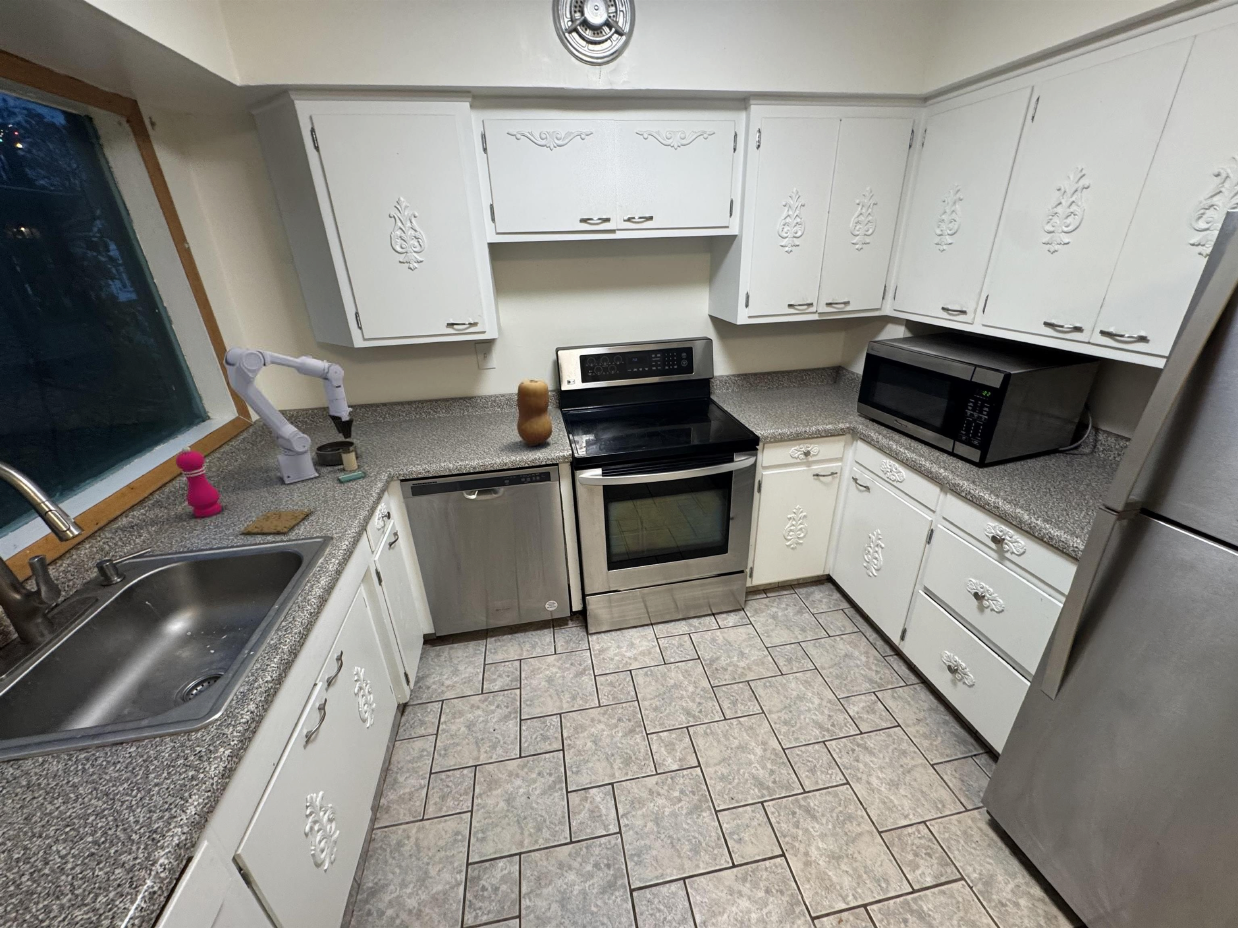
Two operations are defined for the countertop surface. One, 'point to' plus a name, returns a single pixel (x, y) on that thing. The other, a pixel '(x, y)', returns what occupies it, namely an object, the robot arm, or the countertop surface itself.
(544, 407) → the butternut squash
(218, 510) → the pepper mill
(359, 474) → the teal rectangular slab
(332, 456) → the dark round bowl
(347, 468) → the spice jar
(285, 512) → the brown square cork trivet
